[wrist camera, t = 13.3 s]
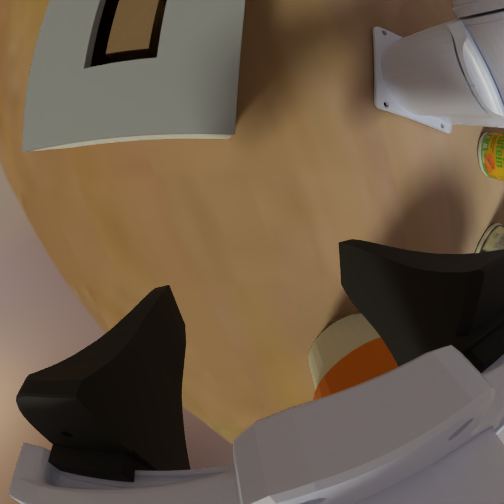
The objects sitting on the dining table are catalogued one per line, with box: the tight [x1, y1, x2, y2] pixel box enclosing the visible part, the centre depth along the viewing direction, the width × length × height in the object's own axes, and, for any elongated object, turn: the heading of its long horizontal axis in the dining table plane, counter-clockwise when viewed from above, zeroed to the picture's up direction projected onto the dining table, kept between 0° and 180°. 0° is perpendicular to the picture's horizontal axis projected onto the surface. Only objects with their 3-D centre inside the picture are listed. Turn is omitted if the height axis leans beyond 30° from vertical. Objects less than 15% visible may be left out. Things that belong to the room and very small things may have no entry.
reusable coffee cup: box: [308, 313, 398, 400], centre depth 19 cm, size 13×13×15 cm
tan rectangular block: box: [106, 0, 165, 62], centre depth 12 cm, size 2×4×5 cm, turn 176°
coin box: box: [23, 0, 245, 152], centre depth 11 cm, size 12×14×6 cm
